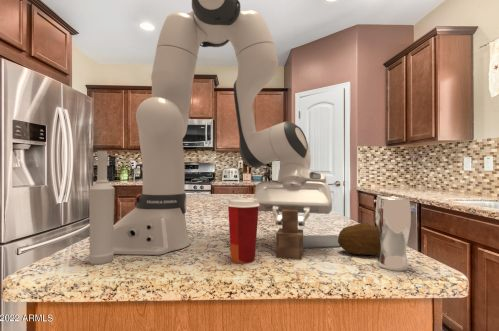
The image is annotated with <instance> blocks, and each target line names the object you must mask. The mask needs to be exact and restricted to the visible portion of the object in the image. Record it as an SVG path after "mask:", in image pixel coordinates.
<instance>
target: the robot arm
mask: <svg viewBox="0 0 499 331" xmlns="http://www.w3.org/2000/svg"><path fill="white" fill-rule="evenodd" d="M191 9H192V11H190V12H187V13H186V12H182V11H174V12H171V13H169V14H168V15H167V16H166V18H165V20H164V22H163V25H162V28H161V30H160V33H159V35H158V40H157V44H156V49H155V50H156V51H155V56H154V59H153V60H154V61H153V65H152V71H151V78H150V80H151V97H148V98H146V99H145V100H143V101H142V102H141V103H140V104H139V105H138V107H137V109H136V113H135V121H136V125H137V128H138V129H137V130H138V139H139V140H138V141H139V148H140V154H141V162H142V193H139V194H137V195H136V196H135V197H134V198H133V200H134V201H133V203H134V207H135V208H133V209H132V210H131V211H129V212H128V213H127V214H125V216H123V217H122V218H121V219H119V220H118V221H117V222H116V223H115V224H114V225H113V251H114V255H138V256H140V255H142V256H143V255H144V256H145V255H146V256H151V255H152V256H153V255H155V256H159V255H163V254H164V255H165V254H167V253H169V252H174V251H177V250H180V249H184V248H186V247H189V246H190V245H191V240H190V238H189V234H188V229H187V221H186V212H187V193H185V176H186V175H185V170H186V168H185V157H184V144H183V143H184V141H183V140H184V138H185V136H186V133H187V131H188V124H189V118H190V110H191V109H190V108H191V102H192V101H191V99H192V89H193V82H194V77H195V73H196V67H197V61H198V54H199V50H200V47H202V48H210V47H211V48H220V47H224V46H225V45H227V44H229V42H230V43H231V45H232V47H233V49H234V54H235V57H236V60H237V77H236V80H235V81H234V84H233V97H234V98H233V99H234V107H235V112H236V113H235V115H236V121H237V128H238V136H239V137H238V138H239V141H238V142H239V145H238V146H239V148H238V149H239V155H240V157H241V159H242V162H243V163H244V164H246V165H248V166H250V167H251V168H255V169H258V168H260V167H264V166H266V165H267V164H270V163H274V162H276V161H280V162H279V165H280V168H279V170H278V177H277V181H266V180H263V181H261V182H259V183H256V185H255V189H254V194H253V198H252V199H257V200H258V204H259V205H260V206H258V212H272V215H273V217H274V218H275V220H274V221H275V225H277V226H282V215H279V214H280V213H282V211H283V210H284V209H298V214H299V213H300V214H301V213H302V215H301V216H299V215H298V227H305V224H306V221H307V220H308V218H309V217H310V216H311V215H310V214H323V215H328V214H330V213H331V212H332V210H333V198H332V193H331V188H330V186H329V185H328V183H327V177H326V175H325V174H324V173H320V172H316V171H313V170H310V168H311V151H310V146H309V145H310V144H309V142H308V141H307V138H306V137H307V136H306V135H305V133H304V131H303V129H302V128H301V127H300V126H298V124H296V123H293V122H292V121H289V120H288V121H287V120H286V121H284V122H281V123H277V124H275V125H272V126H270V127H267V128H264V129H262V130H259V131H257V129H256V128H257V127H256V122H255V116H254V115H255V114H254V102H255V99H256V97H257V96H258V94H259V93H260V92H261V91H262V90H263V89H264V88H265V87H266V86H267V85H268V84H269V83H270V82H271V80H272V79H273V78H274V76H275V74H276V72H277V70H278V68H279V67H278V66H279V60H278V54H277V53H278V52H277V50H276V46H275V44H274V41H273V37H272V34H271V32H270V30H269V28H268V25H267V24H266V22H265V19H264V17H263V16H262V15H261V13H259V12H258V11H256V10H241V2H240V0H191Z"/></svg>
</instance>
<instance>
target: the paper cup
mask: <svg viewBox="0 0 499 331" xmlns="http://www.w3.org/2000/svg"><path fill="white" fill-rule="evenodd" d="M258 206H260V205H259V204H258V200H257V199H253V198H248V197H239V198H238V197H237V198H235V197H234V198H229V200H227V204H226V207H228V209H227V210H228V212H227V213H228V227H229V228H228V229H229V230H228V231H229V248H230V250H229V251H230V260H231V262H233V263H236V264H249V263H252V262H255V260H256V251H257V250H256V249H257V234H258V222H259V221H258V220H259V211H258Z"/></svg>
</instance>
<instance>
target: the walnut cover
mask: <svg viewBox="0 0 499 331" xmlns="http://www.w3.org/2000/svg"><path fill="white" fill-rule="evenodd" d="M281 216H282V225H281V228H279V229H278V230H277V232H276V233H275V234H276V235H275V236H276V238H275V239H276V240H275V243H276V244H275V249H276V250H275V258H277V259H288V258H291V259H290V260H301V259H303V256H304V255H303V254H304V249H303V236H304V228H303V229H302V228H300V229H299V226H298V220H299V213H298V209H284V210H283V211H282V212H281Z"/></svg>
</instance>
